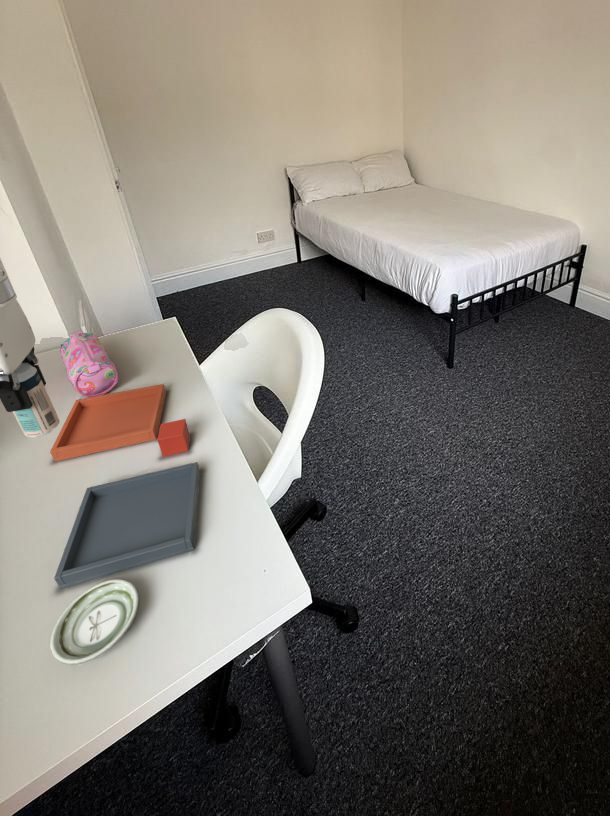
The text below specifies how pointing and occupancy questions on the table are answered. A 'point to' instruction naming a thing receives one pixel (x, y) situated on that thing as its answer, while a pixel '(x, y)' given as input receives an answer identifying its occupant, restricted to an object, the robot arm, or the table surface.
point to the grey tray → (131, 524)
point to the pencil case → (88, 365)
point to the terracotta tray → (110, 422)
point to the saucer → (94, 622)
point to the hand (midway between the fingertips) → (27, 396)
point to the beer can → (34, 404)
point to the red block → (173, 437)
